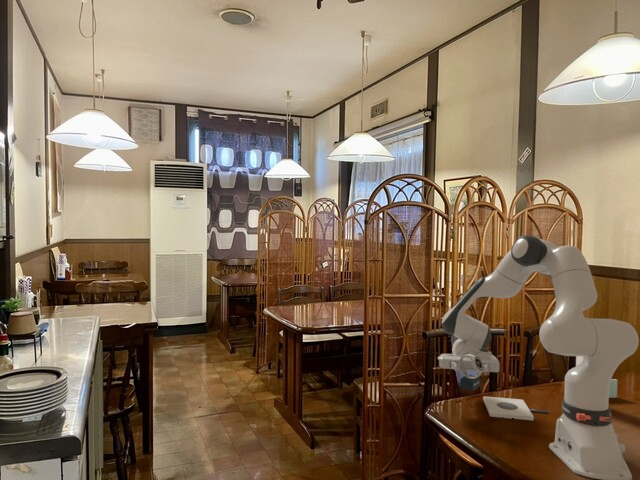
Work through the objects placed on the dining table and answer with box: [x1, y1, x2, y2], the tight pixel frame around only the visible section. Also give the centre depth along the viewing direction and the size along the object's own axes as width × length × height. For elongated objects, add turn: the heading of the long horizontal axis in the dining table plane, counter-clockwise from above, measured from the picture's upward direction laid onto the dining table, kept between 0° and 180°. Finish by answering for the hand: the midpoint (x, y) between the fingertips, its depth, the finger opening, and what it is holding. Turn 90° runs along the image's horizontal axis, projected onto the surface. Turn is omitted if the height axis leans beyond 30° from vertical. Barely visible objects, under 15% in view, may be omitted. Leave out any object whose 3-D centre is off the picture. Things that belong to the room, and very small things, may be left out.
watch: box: [459, 354, 483, 391], centre depth 154 cm, size 6×8×11 cm
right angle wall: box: [609, 378, 618, 399], centre depth 180 cm, size 12×12×8 cm
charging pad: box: [482, 396, 550, 421], centre depth 161 cm, size 16×21×1 cm
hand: (470, 369), depth 153 cm, fingers closed on watch, 7 cm apart
